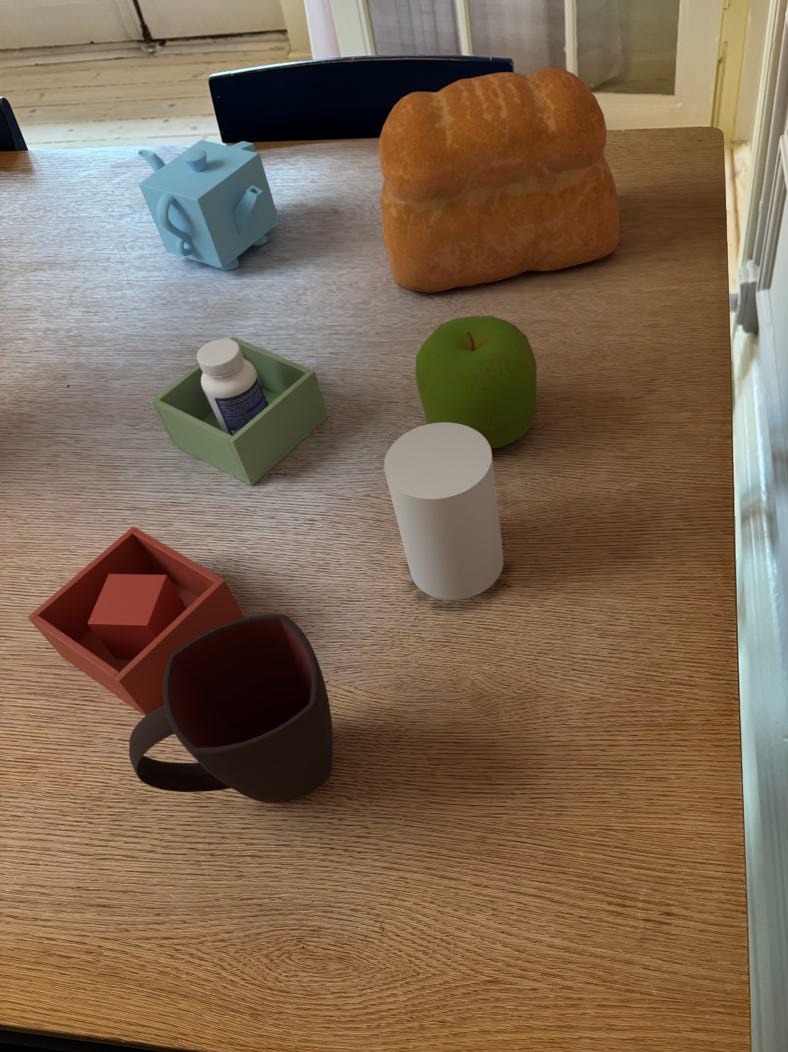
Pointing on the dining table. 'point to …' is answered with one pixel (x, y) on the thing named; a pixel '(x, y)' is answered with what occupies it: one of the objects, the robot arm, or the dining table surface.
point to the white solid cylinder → (446, 509)
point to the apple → (479, 377)
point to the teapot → (210, 202)
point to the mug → (242, 714)
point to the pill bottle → (230, 385)
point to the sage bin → (265, 435)
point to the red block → (134, 612)
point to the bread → (496, 180)
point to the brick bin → (145, 673)
